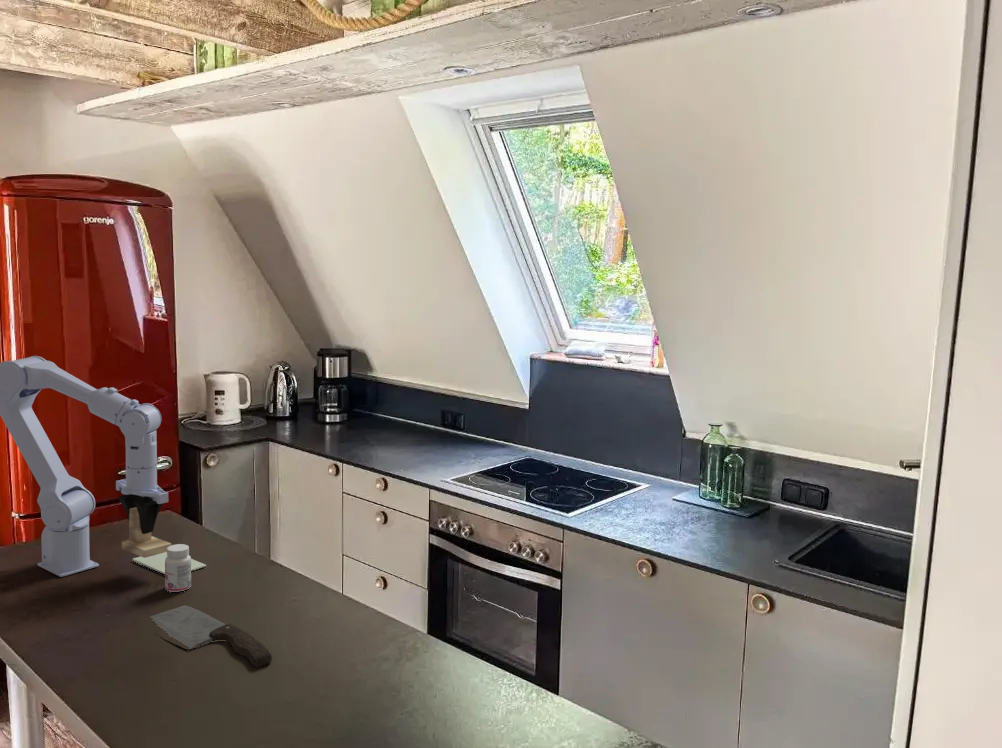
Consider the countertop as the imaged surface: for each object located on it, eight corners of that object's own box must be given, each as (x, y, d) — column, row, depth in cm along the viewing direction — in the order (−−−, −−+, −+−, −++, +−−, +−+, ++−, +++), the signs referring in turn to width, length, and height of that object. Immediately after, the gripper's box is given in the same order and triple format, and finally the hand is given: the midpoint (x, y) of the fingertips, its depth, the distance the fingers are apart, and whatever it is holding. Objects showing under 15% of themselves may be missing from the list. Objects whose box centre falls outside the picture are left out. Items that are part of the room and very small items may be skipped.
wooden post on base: (121, 548, 164) (122, 510, 163) (148, 541, 169) (149, 504, 168) (144, 557, 160) (145, 518, 159) (171, 550, 165) (172, 512, 164)
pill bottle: (160, 588, 160) (160, 547, 159) (183, 581, 164) (183, 541, 163) (172, 595, 157) (172, 553, 156) (195, 588, 161) (195, 547, 160)
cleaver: (284, 659, 136) (284, 647, 135) (233, 682, 128) (233, 669, 128) (184, 608, 153) (183, 598, 153) (134, 626, 145) (133, 614, 145)
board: (132, 561, 173) (132, 558, 173) (166, 551, 179) (166, 548, 179) (172, 578, 165) (172, 575, 165) (206, 567, 171) (206, 564, 171)
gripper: (101, 462, 165) (102, 527, 166) (145, 476, 157) (146, 543, 159) (133, 456, 170) (134, 519, 172) (177, 469, 163) (177, 534, 165)
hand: (142, 530), depth 166 cm, fingers closed on wooden post on base, 3 cm apart
